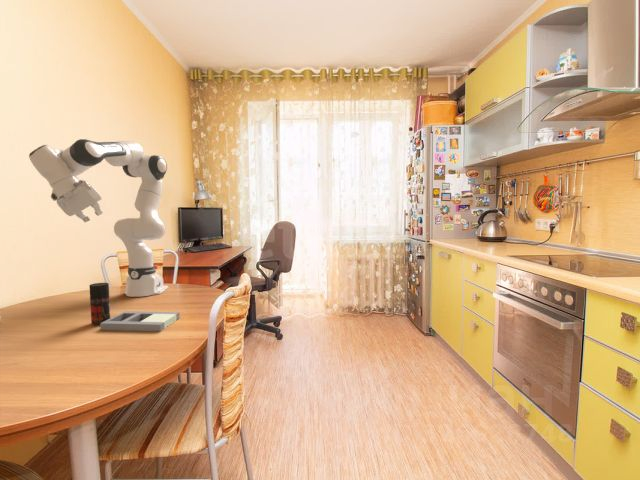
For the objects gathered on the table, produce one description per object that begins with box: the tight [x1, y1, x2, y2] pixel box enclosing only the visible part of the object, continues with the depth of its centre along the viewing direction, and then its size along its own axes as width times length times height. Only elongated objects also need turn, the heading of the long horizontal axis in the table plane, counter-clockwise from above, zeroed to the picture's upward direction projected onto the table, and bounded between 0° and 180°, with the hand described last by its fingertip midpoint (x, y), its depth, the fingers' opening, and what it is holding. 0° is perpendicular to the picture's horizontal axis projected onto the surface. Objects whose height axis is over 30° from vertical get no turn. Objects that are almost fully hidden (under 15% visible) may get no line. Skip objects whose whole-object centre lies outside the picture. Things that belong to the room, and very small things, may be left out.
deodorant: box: [89, 282, 111, 327], centre depth 120 cm, size 6×6×15 cm
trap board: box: [99, 310, 180, 332], centre depth 120 cm, size 14×22×2 cm, turn 88°
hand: (93, 218), depth 126 cm, fingers open, 8 cm apart
